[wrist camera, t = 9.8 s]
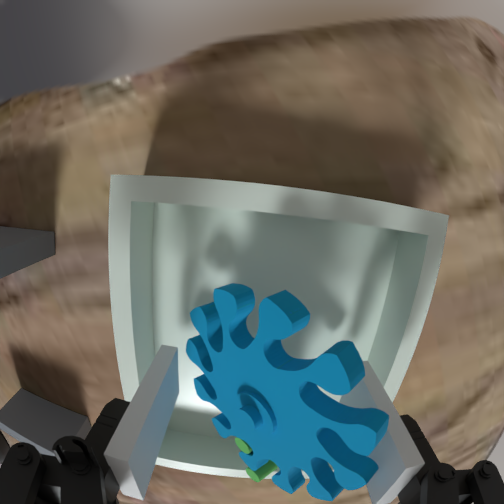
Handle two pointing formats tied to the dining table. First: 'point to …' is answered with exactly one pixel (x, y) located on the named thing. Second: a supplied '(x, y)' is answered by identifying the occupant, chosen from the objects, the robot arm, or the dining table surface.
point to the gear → (283, 395)
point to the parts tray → (262, 283)
